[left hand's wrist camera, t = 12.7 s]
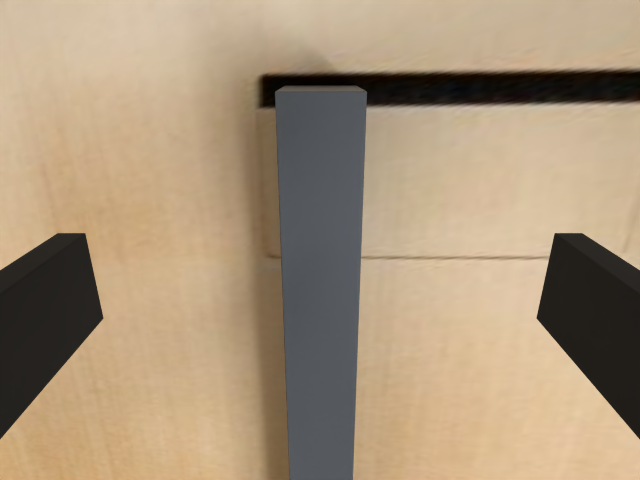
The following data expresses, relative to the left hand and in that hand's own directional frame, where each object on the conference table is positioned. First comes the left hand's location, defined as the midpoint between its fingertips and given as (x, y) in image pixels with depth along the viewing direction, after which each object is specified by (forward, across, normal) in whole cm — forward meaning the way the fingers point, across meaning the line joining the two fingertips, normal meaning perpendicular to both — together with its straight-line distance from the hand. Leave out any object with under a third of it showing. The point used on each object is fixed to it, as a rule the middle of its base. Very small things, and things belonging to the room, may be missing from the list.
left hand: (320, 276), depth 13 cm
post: (+25, 0, -23) cm, 34 cm away
